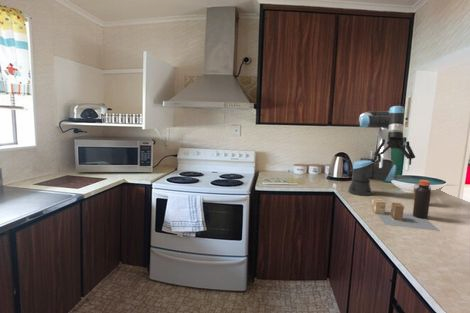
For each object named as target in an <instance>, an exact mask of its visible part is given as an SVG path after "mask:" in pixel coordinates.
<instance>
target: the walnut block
mask: <svg viewBox="0 0 470 313" xmlns="http://www.w3.org/2000/svg"><path fill="white" fill-rule="evenodd" d="M404 211H405V206H404V205H403V204H402V203H401V202H395V201H393V202H391V206H390V212H391V214H390V217H391V218H392V219H393V220H394V221H402V219H403V213H404Z"/></svg>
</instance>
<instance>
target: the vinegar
mask: <svg viewBox="0 0 470 313" xmlns="http://www.w3.org/2000/svg"><path fill="white" fill-rule="evenodd" d="M418 184H419V187H418V188H417V189H416V192H415V200H414V199H413V209H412V214H413V216H414V217H417V218H421V219H428V216H429V209H430V203H431V195H432V189H431V190H430V189H429V186H430V185H431V181H429V180H425V179H420V180H419V179H418ZM430 187H431V186H430Z"/></svg>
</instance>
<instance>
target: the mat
mask: <svg viewBox="0 0 470 313" xmlns="http://www.w3.org/2000/svg"><path fill="white" fill-rule="evenodd" d="M390 214H391V211H385V214H377V216H378V217H379V218H380V221H382V222H383V224H384V226H385V225H386V226H392V227H399V228H401V227H403V228H409V229H418V230H419V229H420V230H426V231H427V230H429V231H437V232H440V231H441V230H440V229H439V228H438V227H437V226H435V225H434V224H433V223H431V222H430V221H429V220H428V218H426V219H421V218H417V217H414V216H413V213H404V212H403V219H402V221H394V220H393V219H392V218H391V217H390Z"/></svg>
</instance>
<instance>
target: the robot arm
mask: <svg viewBox="0 0 470 313" xmlns="http://www.w3.org/2000/svg"><path fill="white" fill-rule="evenodd" d="M358 121H359V127H360V128H374V129H375V130H376V131H377V146H376V147H377V148H376V151H375V152H374V156H376V159H375V161H374V162H372V160H366V159H365V160H364V159H363V160H356V161H355V162H353V166H352V176H351V183H350V184H349V187H348V190H347V191H348V193H350V194H352V195H357V196H363V197H365V196H366V197H367V196H372V192H373V191H372V188H371V184H370V183H371V182H370V181H371V180H372V181H381V182H392V181H393V180H394V178H395V175H396V172H397V164H394V161H393V160H392V149H395V150H399V151H401V153H402V154H403V155H404V157H406V159H405V171H406V172H408V171H409V170H410V166H411V164H412V160H413V159H415V158H416V155H415V154H414V151H413V149H412V148H411V145H410V141H407V140H406V141H404V124H405V123H404V122H405V107H404V106H401V105H394V106H391V107H390V108H389V110H380V111H379V110H369V111H365V112H363V113H361V114H360V115H359V117H358ZM403 145H404V146H405V147H404V146H403ZM405 148H406V149H405Z"/></svg>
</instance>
